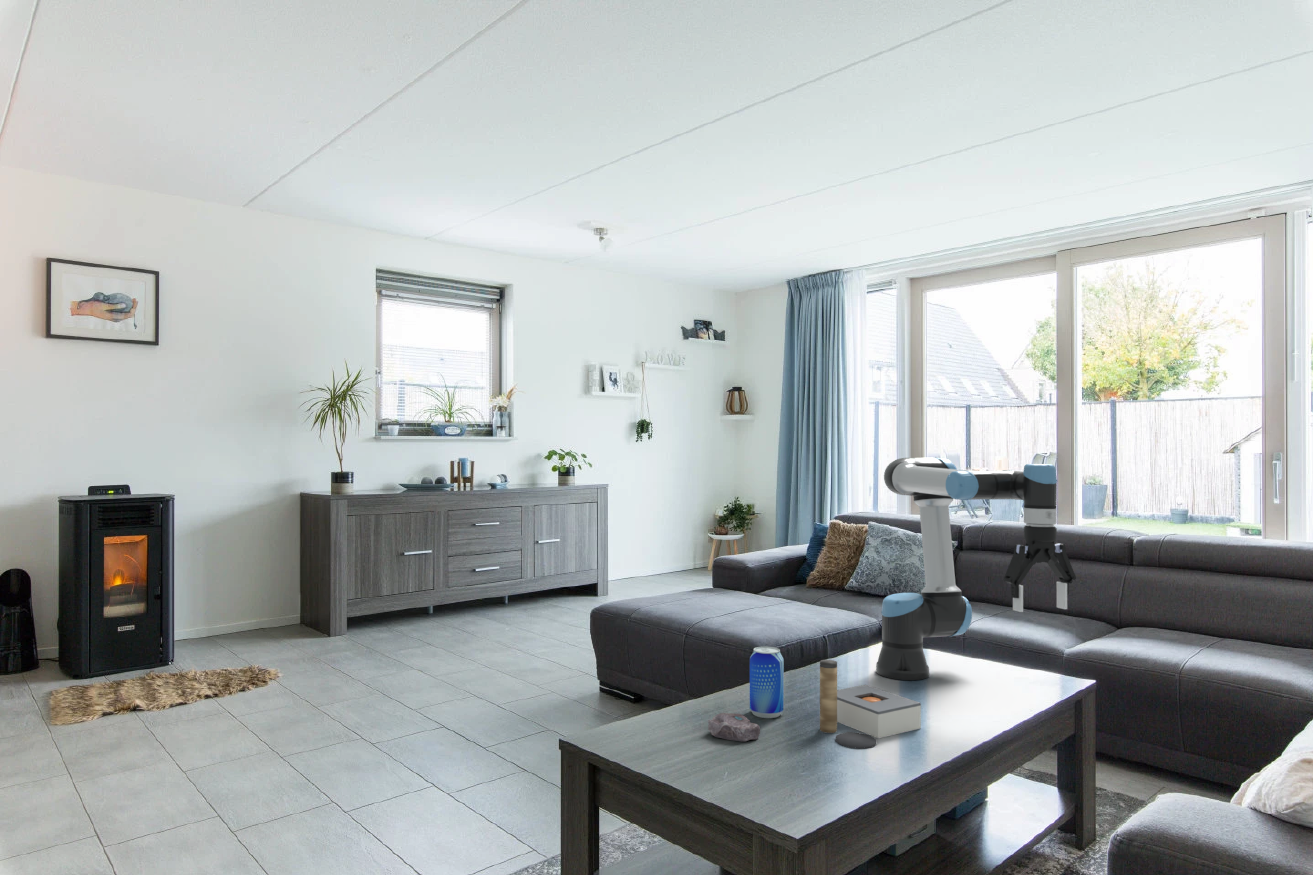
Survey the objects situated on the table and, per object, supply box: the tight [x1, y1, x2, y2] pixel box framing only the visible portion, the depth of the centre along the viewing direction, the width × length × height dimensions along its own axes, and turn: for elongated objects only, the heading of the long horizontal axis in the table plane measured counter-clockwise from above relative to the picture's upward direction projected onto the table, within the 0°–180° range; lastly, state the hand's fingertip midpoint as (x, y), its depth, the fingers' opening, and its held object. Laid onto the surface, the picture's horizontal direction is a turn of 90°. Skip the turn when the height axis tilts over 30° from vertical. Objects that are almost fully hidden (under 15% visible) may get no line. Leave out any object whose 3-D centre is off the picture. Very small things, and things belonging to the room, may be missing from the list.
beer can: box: [749, 646, 785, 719], centre depth 206 cm, size 8×8×16 cm
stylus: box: [819, 659, 838, 734], centre depth 194 cm, size 4×4×16 cm
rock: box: [707, 712, 761, 743], centre depth 189 cm, size 8×11×5 cm
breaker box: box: [837, 684, 922, 739], centre depth 199 cm, size 18×14×6 cm
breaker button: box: [862, 697, 881, 702], centre depth 200 cm, size 4×4×2 cm
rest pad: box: [835, 731, 877, 750], centre depth 186 cm, size 9×9×1 cm
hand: (1040, 609), depth 207 cm, fingers open, 13 cm apart
